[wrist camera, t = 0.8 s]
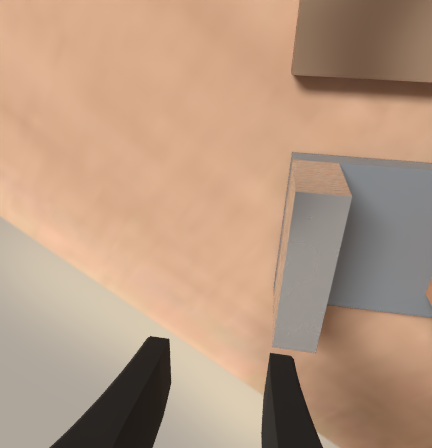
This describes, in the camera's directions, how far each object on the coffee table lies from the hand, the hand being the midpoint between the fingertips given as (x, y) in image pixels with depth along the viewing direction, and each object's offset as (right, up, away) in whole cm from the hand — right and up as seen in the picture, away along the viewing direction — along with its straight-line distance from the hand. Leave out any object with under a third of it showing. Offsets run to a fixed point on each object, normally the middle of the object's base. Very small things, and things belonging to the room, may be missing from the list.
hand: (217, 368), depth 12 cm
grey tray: (+10, +4, +7) cm, 13 cm away
